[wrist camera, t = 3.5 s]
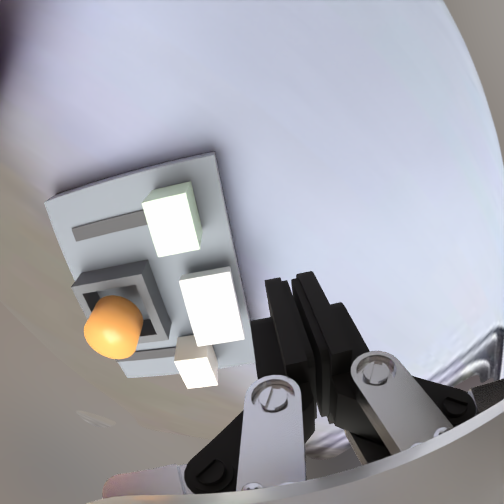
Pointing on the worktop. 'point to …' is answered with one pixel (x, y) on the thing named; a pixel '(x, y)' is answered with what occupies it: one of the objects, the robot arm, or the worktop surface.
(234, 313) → the block
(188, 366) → the ivory slider
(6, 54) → the worktop surface
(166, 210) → the green slider
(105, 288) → the panel
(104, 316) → the orange button
